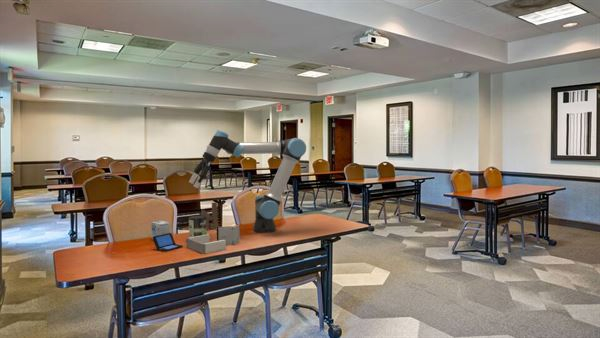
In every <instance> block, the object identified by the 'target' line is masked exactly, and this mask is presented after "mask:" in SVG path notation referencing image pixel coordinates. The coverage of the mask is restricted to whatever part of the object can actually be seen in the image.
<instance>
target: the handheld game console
mask: <svg viewBox="0 0 600 338" xmlns="http://www.w3.org/2000/svg"><path fill="white" fill-rule="evenodd" d="M152 241H153V244H154V245H155V248H156V249H155V250H156V251H159V252H163V253H166V252H167V253H168V252H170V251H174V250H178V249H182V248H184V246H183V245H182V244H177V243H176V242H175V239H174V237H173V235H172V233H171V232H170V233H167V234H163V235H158V236H154V237H153V239H152Z"/></svg>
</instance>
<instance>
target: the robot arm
mask: <svg viewBox="0 0 600 338" xmlns="http://www.w3.org/2000/svg"><path fill="white" fill-rule="evenodd" d="M221 150H223V151H225V153H226V154H228V155H233V156H234V157H236V158H239V157H241V155H254V154H255V155H257V154H258V155H262V154H263V155H264V154H265V155H267V154H277V155H278V156H282V159H281V162H280V165H279V166H278V169H277V172H276V173H275V176H274V178H273V180H272V183H271V185H270V186H269V188H268V191H267V192H266V193H264V195H261V196H260V195H258V196H255V198H254V202H255V203H254V205H255V207H254V208H255V209H254V210H255V213H254V214H255V215H254V216H255V218H254V219H255V220H254V223H253V226H252V231H253V232H255V233H272V232H276V231H277V226H276V223H275V219H274V218H276V217H277V216H278V215H279V213H280V206H281V203H282V199H281V197H282V195H283V193H284V191H285V188H286V186H287V183H288V182H289V179H290V177H291V175H292V173H293V171H294V168H295V166H296V164H298V163H300V160H301V158H302V156H304V155H305V154H306V152H307V145H306V143H305V141H304V140H303V139H301V138H297V137H293V138H288V139H284V140H277V141H259V142H258V141H257V142H255V141H250V142H249V141H247V142H245V141H243V142H236V141H233V140H232V139H230V138H229V134H228V133H226V132H225V131H223V130H221V129H217V130H216V131H215V133H214V135H213V136H212V138H211V140H210V142H209V143H208V145H207V146H206V149H205V151H204V152H203V154H202V159H201V160H200V162H199V163H198V165H197V166H196V167H195V168H194V170H193V174H192V175H191V177H190V179H189V181H188V183H190V184H192V185H193V187H194V188H196V189H199V188H200V186H201V184H202V182H203V180H204V179H206V177H207V176H208V173H209V170H210V168H211V165H212V163H214V162H215V160H216V158H217V157H218V155H219V153H220V152H221ZM197 177H198V178H197Z"/></svg>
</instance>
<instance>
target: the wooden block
mask: <svg viewBox="0 0 600 338" xmlns="http://www.w3.org/2000/svg"><path fill="white" fill-rule="evenodd" d="M201 215H202V216H206V231H210V230H211V231H212V230H217V227H220V226H219V223H218V221H219V220H218V202H216V201H214V202H213V201H212V202H211V215H210V214H209V212H207V211H206V210H205V209H201ZM210 220H211V223H210Z"/></svg>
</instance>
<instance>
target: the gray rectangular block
mask: <svg viewBox="0 0 600 338" xmlns="http://www.w3.org/2000/svg"><path fill="white" fill-rule="evenodd" d="M220 240H226V246H231V245H237V243H240V224H235V225H229V226H219V227H217V229H216V241H220Z"/></svg>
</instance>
